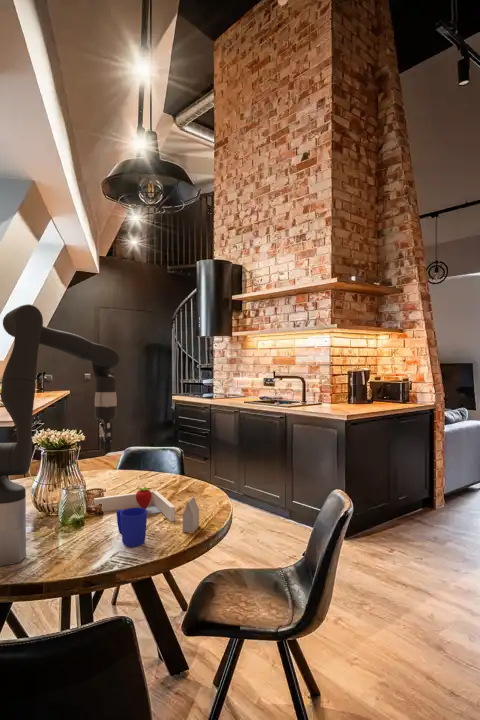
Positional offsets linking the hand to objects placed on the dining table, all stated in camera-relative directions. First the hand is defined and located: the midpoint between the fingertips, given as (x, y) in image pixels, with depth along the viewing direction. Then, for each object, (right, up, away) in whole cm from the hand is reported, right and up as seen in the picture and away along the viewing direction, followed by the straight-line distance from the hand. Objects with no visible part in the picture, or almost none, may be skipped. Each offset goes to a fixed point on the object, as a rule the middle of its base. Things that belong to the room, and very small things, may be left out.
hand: (105, 450), depth 167 cm
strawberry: (+12, -25, +10) cm, 29 cm away
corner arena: (+9, -25, +4) cm, 27 cm away
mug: (+13, -25, -20) cm, 35 cm away
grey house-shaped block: (+31, -25, -9) cm, 41 cm away
